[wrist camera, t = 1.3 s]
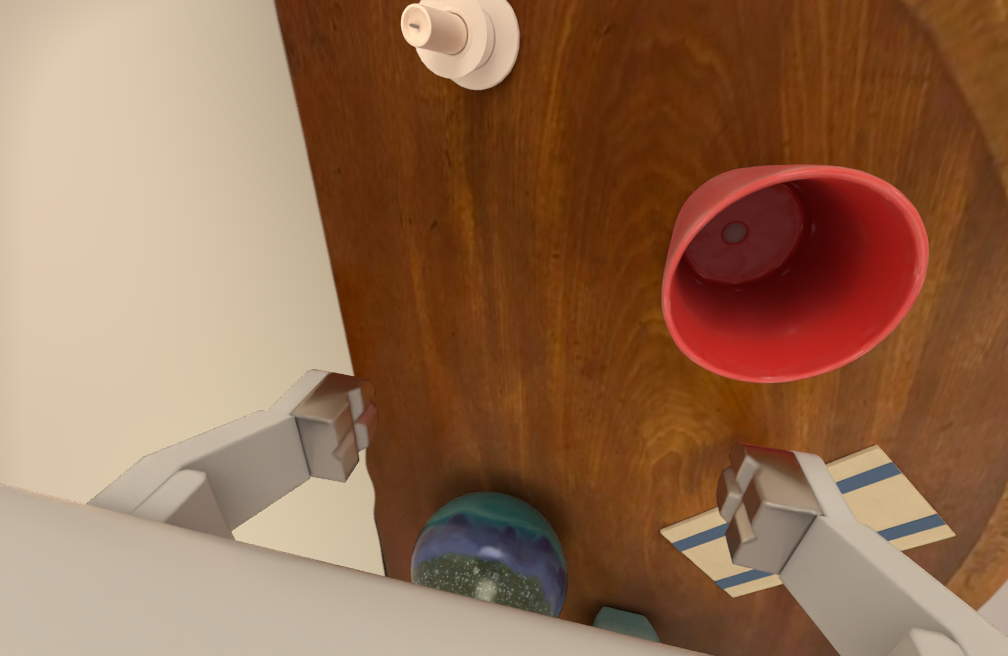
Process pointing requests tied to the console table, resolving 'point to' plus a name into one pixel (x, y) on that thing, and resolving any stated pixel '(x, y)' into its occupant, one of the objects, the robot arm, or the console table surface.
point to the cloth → (869, 494)
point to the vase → (493, 553)
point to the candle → (464, 39)
